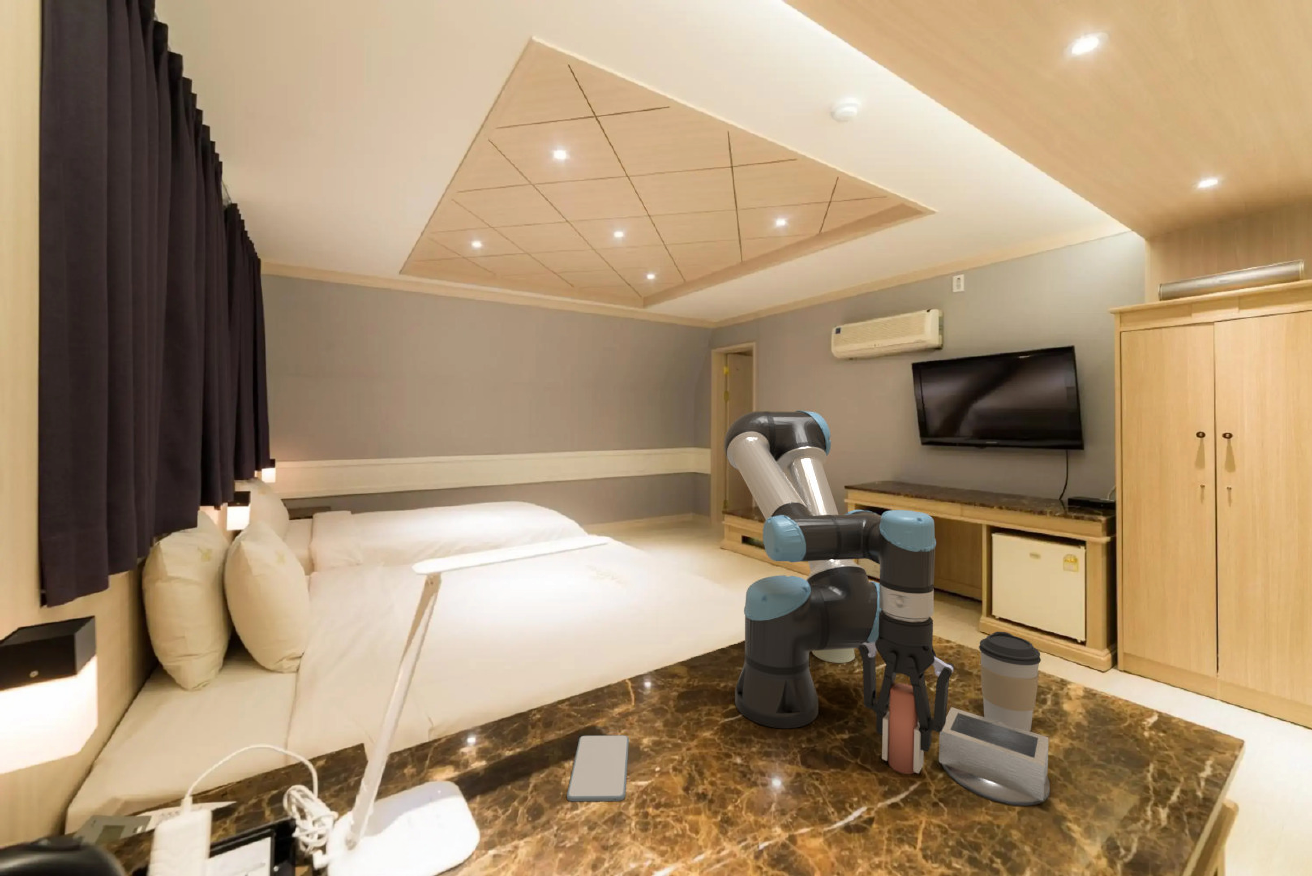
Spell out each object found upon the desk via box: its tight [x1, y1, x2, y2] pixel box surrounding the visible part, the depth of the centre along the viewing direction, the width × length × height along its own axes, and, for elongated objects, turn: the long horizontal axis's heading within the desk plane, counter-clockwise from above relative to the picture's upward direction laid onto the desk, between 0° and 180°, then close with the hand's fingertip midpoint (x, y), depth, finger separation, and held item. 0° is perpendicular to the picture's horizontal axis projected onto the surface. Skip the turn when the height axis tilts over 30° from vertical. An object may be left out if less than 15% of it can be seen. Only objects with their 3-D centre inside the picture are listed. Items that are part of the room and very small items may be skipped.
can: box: [811, 648, 856, 664], centre depth 121 cm, size 9×9×12 cm
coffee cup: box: [978, 631, 1042, 732], centre depth 94 cm, size 9×9×15 cm
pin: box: [887, 682, 919, 775], centre depth 82 cm, size 4×4×12 cm
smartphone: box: [566, 734, 630, 802], centre depth 83 cm, size 8×1×15 cm
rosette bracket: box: [938, 707, 1051, 807], centre depth 81 cm, size 14×14×6 cm
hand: (902, 761), depth 83 cm, fingers closed on pin, 4 cm apart
